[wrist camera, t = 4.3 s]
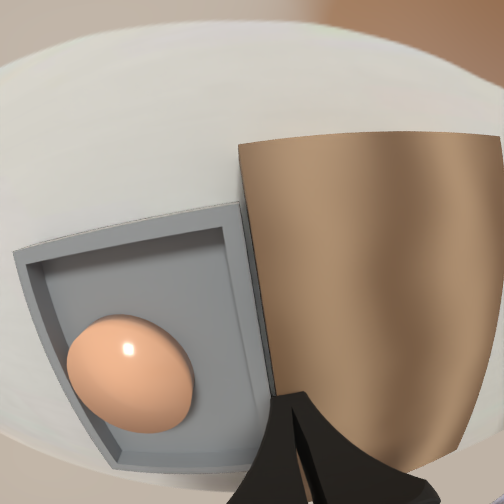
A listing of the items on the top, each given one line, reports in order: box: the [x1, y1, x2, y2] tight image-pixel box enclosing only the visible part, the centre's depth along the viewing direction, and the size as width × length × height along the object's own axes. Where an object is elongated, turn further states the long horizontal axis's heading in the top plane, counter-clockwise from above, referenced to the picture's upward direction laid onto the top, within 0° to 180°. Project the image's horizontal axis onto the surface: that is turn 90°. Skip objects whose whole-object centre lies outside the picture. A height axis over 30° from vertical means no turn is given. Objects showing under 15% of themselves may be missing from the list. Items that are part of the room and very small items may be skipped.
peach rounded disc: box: [67, 314, 195, 434], centre depth 14 cm, size 7×7×2 cm
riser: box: [238, 131, 504, 502], centre depth 13 cm, size 12×20×4 cm, turn 9°
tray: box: [13, 201, 271, 474], centre depth 14 cm, size 12×16×2 cm
